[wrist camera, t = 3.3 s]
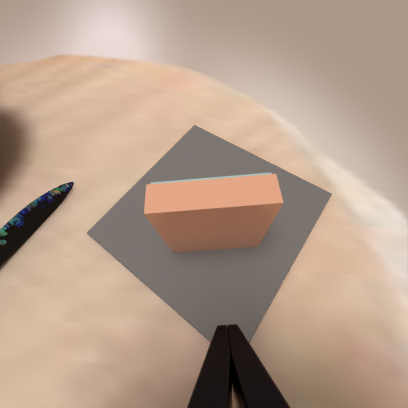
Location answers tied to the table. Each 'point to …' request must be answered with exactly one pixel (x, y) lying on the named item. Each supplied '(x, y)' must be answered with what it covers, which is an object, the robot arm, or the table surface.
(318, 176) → the table surface
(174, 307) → the mat
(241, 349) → the robot arm
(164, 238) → the tile
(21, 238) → the knife
